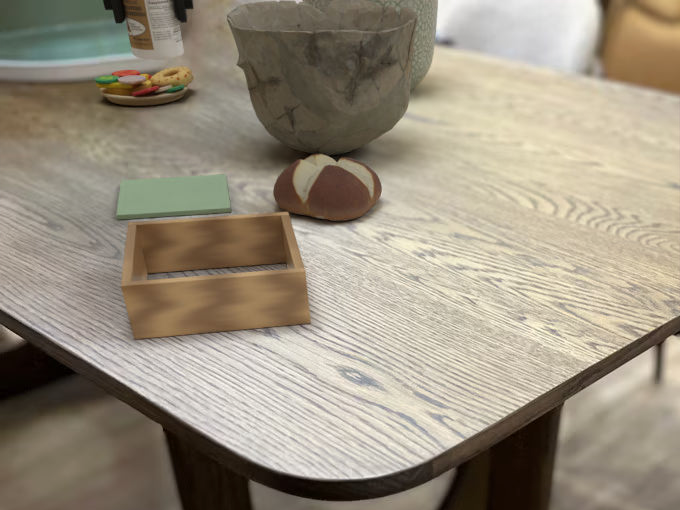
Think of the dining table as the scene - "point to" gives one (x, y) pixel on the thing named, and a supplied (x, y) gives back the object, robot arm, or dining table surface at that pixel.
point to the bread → (327, 188)
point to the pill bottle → (153, 29)
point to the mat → (173, 196)
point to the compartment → (213, 290)
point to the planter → (424, 42)
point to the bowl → (325, 70)
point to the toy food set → (145, 86)
